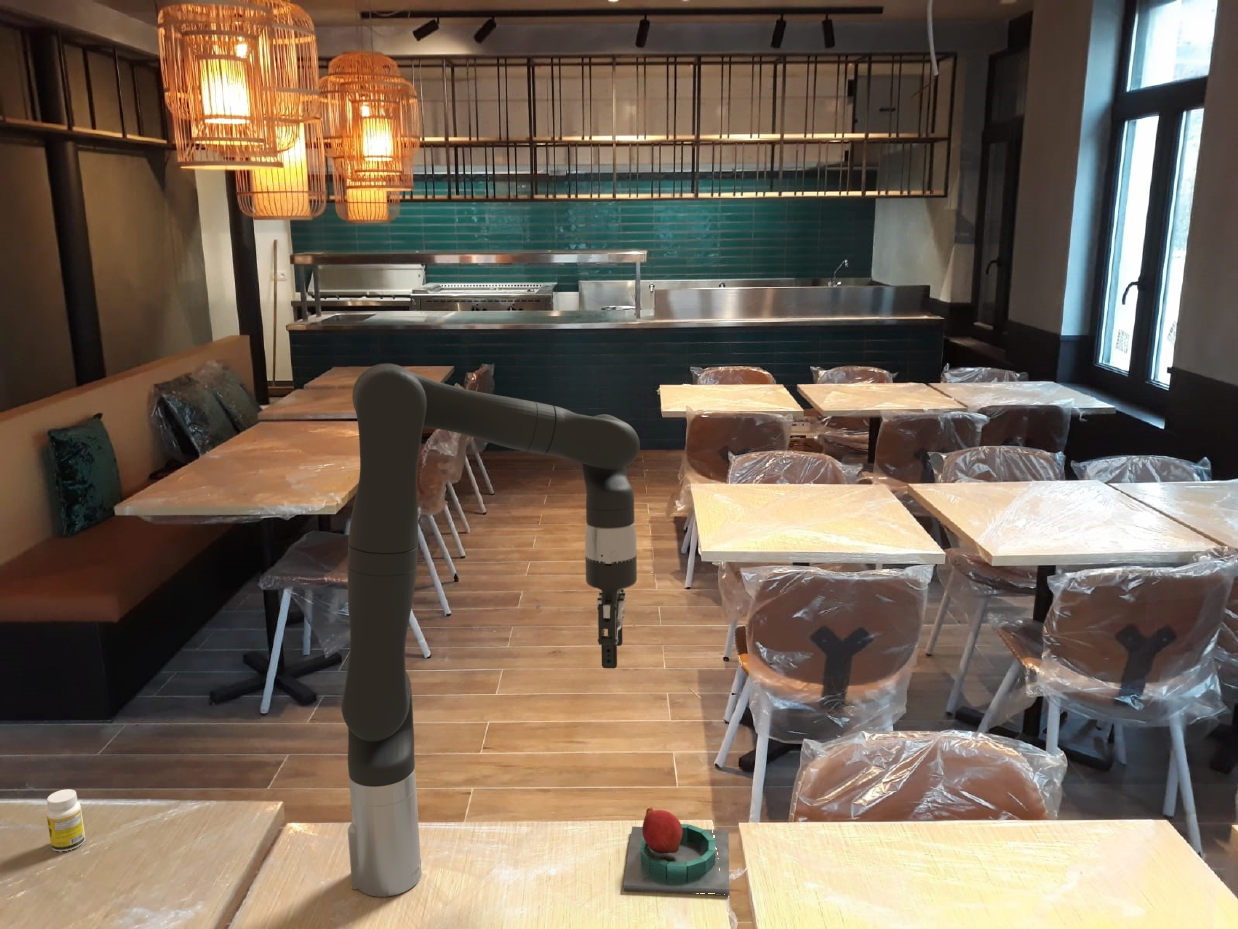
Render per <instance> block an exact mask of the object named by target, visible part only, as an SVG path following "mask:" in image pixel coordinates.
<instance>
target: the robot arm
mask: <svg viewBox="0 0 1238 929" xmlns="http://www.w3.org/2000/svg"><path fill="white" fill-rule="evenodd" d="M351 395H352V396H351V398H352V403H353V405H352V406H353V408H354V411H355V413H356V419H357V427H358V428H357V429H358V440H359V442H358V443H359V476H358V477H359V478H358V485H357V489H356V492H355V493H356V494H355V498H354V502H353V507H352V512H351V516H350V517H351V518H350V522H349V531H348V539H347V540H348V542H347V543H348V544H347V569H346V570H347V607H348V622H349V637H350V641H349V644H350V645H349V654H348V655H349V657H348V663H347V669H346V670H347V672H346V678H345V684H344V685H345V686H344V689H343V692H342V697H341V703H340V705H341V706H340V707H341V715H342V718H343V720H344V723H345V724H346V726H347V731H348V732H347V733H348V734H347V738H348V741H347V742H348V743H347V769H348V779H349V780H348V782H349V791H350V792H349V793H350V794H349V795H350V805H351V818H352V819H351V820H352V822H351V823H350V825H349V826H348V828H347V839H348V840H347V841H348V851H349V864H350V865H349V867H350V878H351V889H353V890H354V889H355V890H359V891H361V892H362V893H364V894H366V895H368V896H373V897H380V898H383V897H385V898H386V897H392V896H396V895H400V894H404V893H405V892H407V891H409V890H411V889H412V888H413V887H414V886H416V884H418V883H419V881H420V880H421V877H422V858H421V844H420V828H419V812H418V810H419V809H418V798H417V797H418V795H417V794H418V793H417V781H416V779H417V778H416V767H415V766H416V765H415V764H416V763H415V728H414V714H413V713H414V712H413V710H414V709H413V694H412V692H413V691H412V683H411V679H410V676H409V674H408V671H407V670H406V641H407V633H408V628H409V623H410V618H411V613H412V608H413V603H414V602H413V601H414V595H415V589H416V588H415V587H416V580H417V571H418V568H417V567H418V554H419V549H418V548H419V505H418V504H419V503H418V490H417V488H418V487H417V482H418V481H417V477H418V476H417V472H418V462H419V457H420V449H421V443H422V436H423V430H424V429H436V430H441V431H447V432H452V433H456V434H461V435H465V436H467V437H468V436H469V437H472V438H474V439H478V440H480V441H485V442H487V443H489V444H493V445H497V446H500V447H505V448H509V449H511V450H512V449H513V450H516V451H521V452H527V453H532V454H533V453H534V454H536V455H537V454H538V455H544V456H554V457H560V458H565V459H568V460H571V461H574V462H578V463H581V468H582V475H583V480H584V485H585V490H586V491H585V492H586V498H585V516H586V518H585V521H586V525H585V526H586V527H585V535H584V550H585V551H584V553H585V555H584V557H585V558H584V559H585V560H584V561H585V582H586V584H587V585H588V586H590V587H591V588H594V589H598V590H600V591H599V592H598V597H597V599H596V608H597V628H598V638H597V643H598V645H600V646H601V667H602V668H603V669H616V668H617V667H618V647H621V646H622V645H623V641H624V640H623V639H624V638H623V621H624V619H625V614H626V605H627V604H626V602H627V601H626V599H627V593H626V591H625V589H627V588H630V587H632V586H634V585H635V584H636V582H637V579H638V576H637V574H638V573H637V572H638V571H637V570H638V568H637V567H638V565H637V564H638V563H637V562H638V561H637V556H638V554H637V532H636V525H635V494H634V489H633V487H632V486H631V484H630V483H631V482H630V481H629V479H628V473H627V472H628V471H627V467H628V466H630V465H631V464H632V463H633V462H634V461H635V460H636V458H637V457H638V455H639V453H640V446H641V445H640V443H641V442H640V437H639V436H638V434H637V432H636V430H635V429H634V428H633V427H632V426H631V425H630V424H629V423H627V422H626V421H624V420H622V419H619V418H617V417H615V416H613V415H612V414H611V415H610V414H598V415H594V416H590V415H585V414H579V413H576V412H572V411H571V410H568V409H566V408H563V407H561V406H557V405H551V404H548V403H542V402H538V401H531V400H526V399H521V398H515V397H509V396H503V395H497V394H491V393H486V392H479V391H475V390H471V389H466V388H462V387H457V386H454V385H451V384H447V383H443V382H440V381H436V380H434V379H431V378H428V377H426V376H423V375H422V374H418V373H415V372H412V371H410V370H409V369H407V368H405V367H404V366H401V365H398V364H395V363H388V362H387V363H379V364H376V365H373V366H370V367H369V368H367V369H366V370H365V371H363V372H362V373H361V374H360V375H359V376H358V377H357V379H356V381H355V382H354V384H353V389H352V394H351ZM606 630H607V635H605V631H606Z"/></svg>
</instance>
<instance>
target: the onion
mask: <svg viewBox="0 0 1238 929" xmlns="http://www.w3.org/2000/svg"><path fill="white" fill-rule="evenodd" d="M681 824H682V823H681V822H680V820H679V818H677V817H676V816H675V814H673V812H670V811H667V810H662V809H654V808H653V807H652V806H650V805H649V806H647V808H646V812H645V816H644V819H643V822H642V827H643V828H642V832H643V837H644V840H645V842H646V843H647V845H648V846H649V847H650V849H651V850H653V851H655V852H657V853H676V852H677V851H678V850H679V845H680V842H681V839H682V832H683V831H682V825H681Z"/></svg>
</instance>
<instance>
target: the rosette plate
mask: <svg viewBox="0 0 1238 929" xmlns="http://www.w3.org/2000/svg"><path fill="white" fill-rule="evenodd" d="M680 824H681V825H682V831H683V832H682V839H681V842H680V845H679V850H678V851H677V852H676V853H657V852H655V851H653V850H651V849H650V847H649V846H648V845H647V843H646V842H645V840H644V837H643V832H642V828H643V826H631V832H630V839H629V846H628V851H627V852H628V853H627V861H626V866H625V874H624V881H623V892H638V893H658V894H659V893H660V894H661V893H664V894H680V895H682V894H683V895H684V894H685V895H686V894H687V895H693V894H692V893H699V894H698V895H701V894H700V893H705V894H708V893H715V894H721V895H720V896H724V897H725V896H727V897H728V896H730V895H731V894H730V892H731V891H730V890H731V889H730V888H731V887H730V853H729V850H730V849H729V848H730V846H729V829H708V828H707V829H705V828H704V829H703V828H701V827H698V826H695V825H693V824H691V823H690V824H689V823H680ZM712 830H713V833H712ZM713 835H715V838H713ZM715 847H716V848H717V850H716V849H715ZM717 852H718V855H717ZM718 858H719V859H718ZM719 868H720V871H719ZM724 894H725V895H724Z"/></svg>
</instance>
